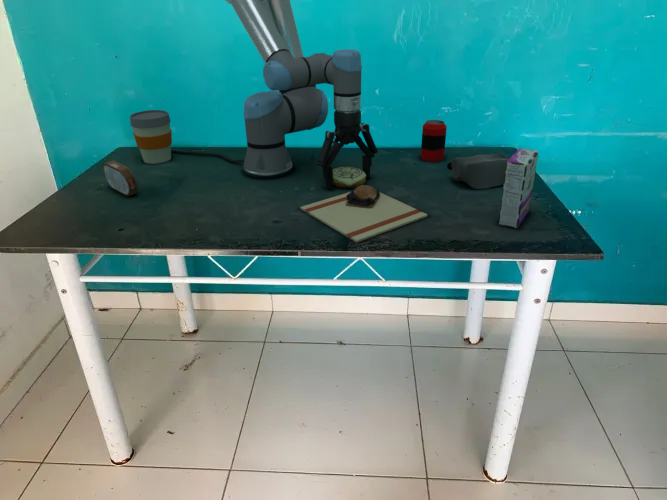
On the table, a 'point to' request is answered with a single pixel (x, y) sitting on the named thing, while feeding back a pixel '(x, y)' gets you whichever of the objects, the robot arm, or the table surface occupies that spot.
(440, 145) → the soda can
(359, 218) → the towel
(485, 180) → the gray bottle
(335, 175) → the decorated donut
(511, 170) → the candy bar box
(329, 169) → the robot arm
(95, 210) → the table surface
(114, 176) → the tin
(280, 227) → the table surface
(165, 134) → the reusable coffee cup
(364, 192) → the bread roll
